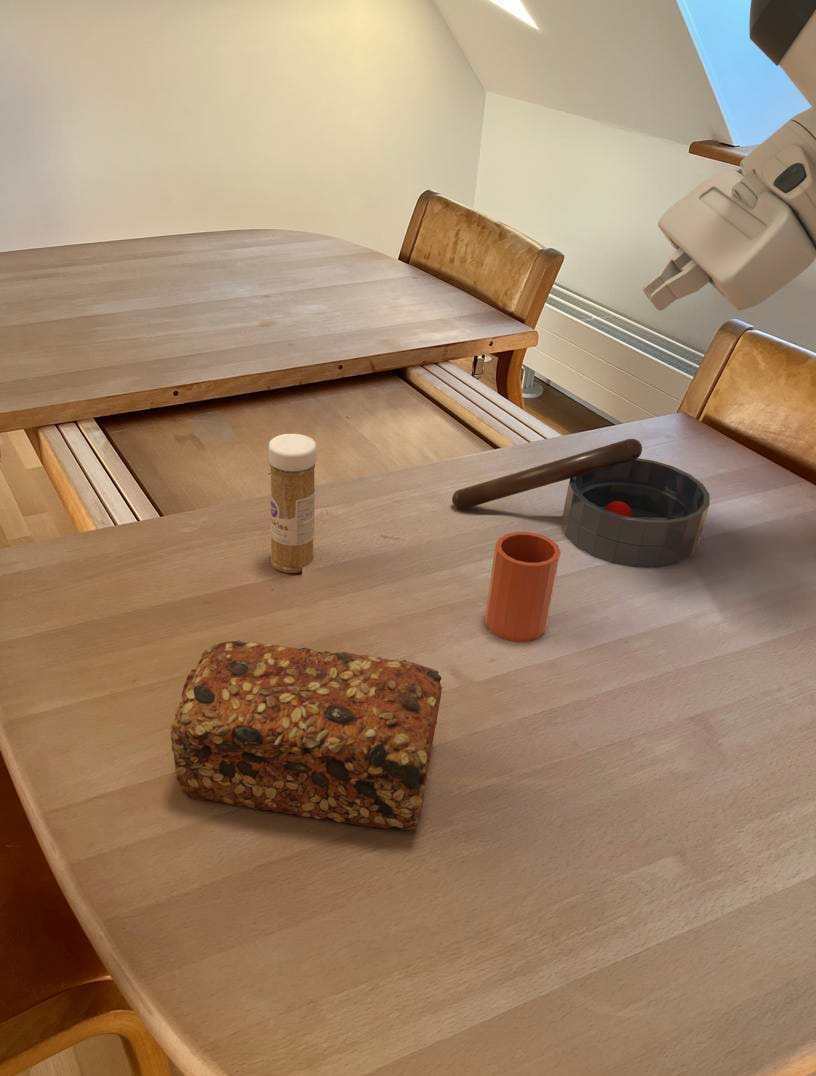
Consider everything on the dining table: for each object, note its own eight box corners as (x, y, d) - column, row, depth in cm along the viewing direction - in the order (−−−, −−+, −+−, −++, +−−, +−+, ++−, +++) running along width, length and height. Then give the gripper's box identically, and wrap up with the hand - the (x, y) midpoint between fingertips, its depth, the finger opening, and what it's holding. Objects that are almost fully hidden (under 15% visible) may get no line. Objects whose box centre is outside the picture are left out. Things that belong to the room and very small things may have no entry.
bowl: (673, 505, 110) (686, 457, 107) (713, 574, 99) (729, 523, 95) (549, 503, 110) (558, 455, 106) (575, 572, 99) (586, 521, 95)
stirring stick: (640, 433, 99) (452, 490, 109) (637, 438, 97) (446, 495, 108) (646, 454, 99) (459, 508, 110) (643, 459, 97) (453, 513, 108)
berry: (607, 513, 107) (594, 506, 104) (631, 500, 105) (618, 492, 103) (615, 537, 105) (602, 530, 103) (640, 524, 104) (627, 516, 102)
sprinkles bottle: (261, 561, 99) (258, 440, 91) (295, 546, 101) (295, 427, 93) (289, 580, 96) (289, 457, 88) (324, 564, 99) (326, 443, 91)
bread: (437, 746, 78) (448, 648, 72) (418, 846, 70) (429, 745, 63) (215, 710, 81) (208, 613, 75) (171, 802, 72) (159, 701, 66)
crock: (538, 612, 93) (553, 532, 88) (549, 648, 89) (565, 565, 83) (480, 612, 93) (491, 531, 87) (488, 647, 88) (500, 565, 83)
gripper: (728, 136, 90) (604, 243, 96) (818, 187, 74) (662, 312, 80) (762, 188, 93) (639, 289, 99) (855, 249, 77) (702, 366, 83)
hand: (650, 300), depth 89 cm, fingers closed
